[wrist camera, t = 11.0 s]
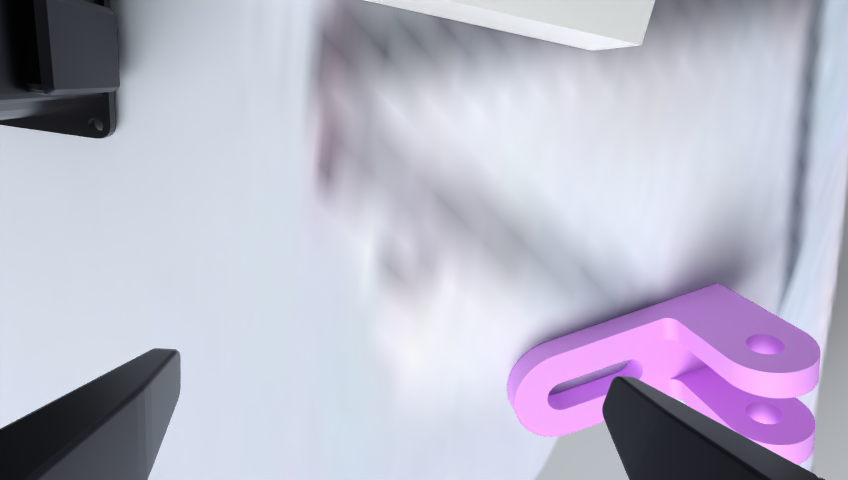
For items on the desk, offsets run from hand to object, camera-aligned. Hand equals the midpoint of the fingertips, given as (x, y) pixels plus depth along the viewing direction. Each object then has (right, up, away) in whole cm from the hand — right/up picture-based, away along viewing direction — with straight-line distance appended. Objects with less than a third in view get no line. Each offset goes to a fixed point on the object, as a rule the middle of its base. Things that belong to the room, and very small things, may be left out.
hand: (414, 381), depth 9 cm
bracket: (+11, -4, +17) cm, 20 cm away
